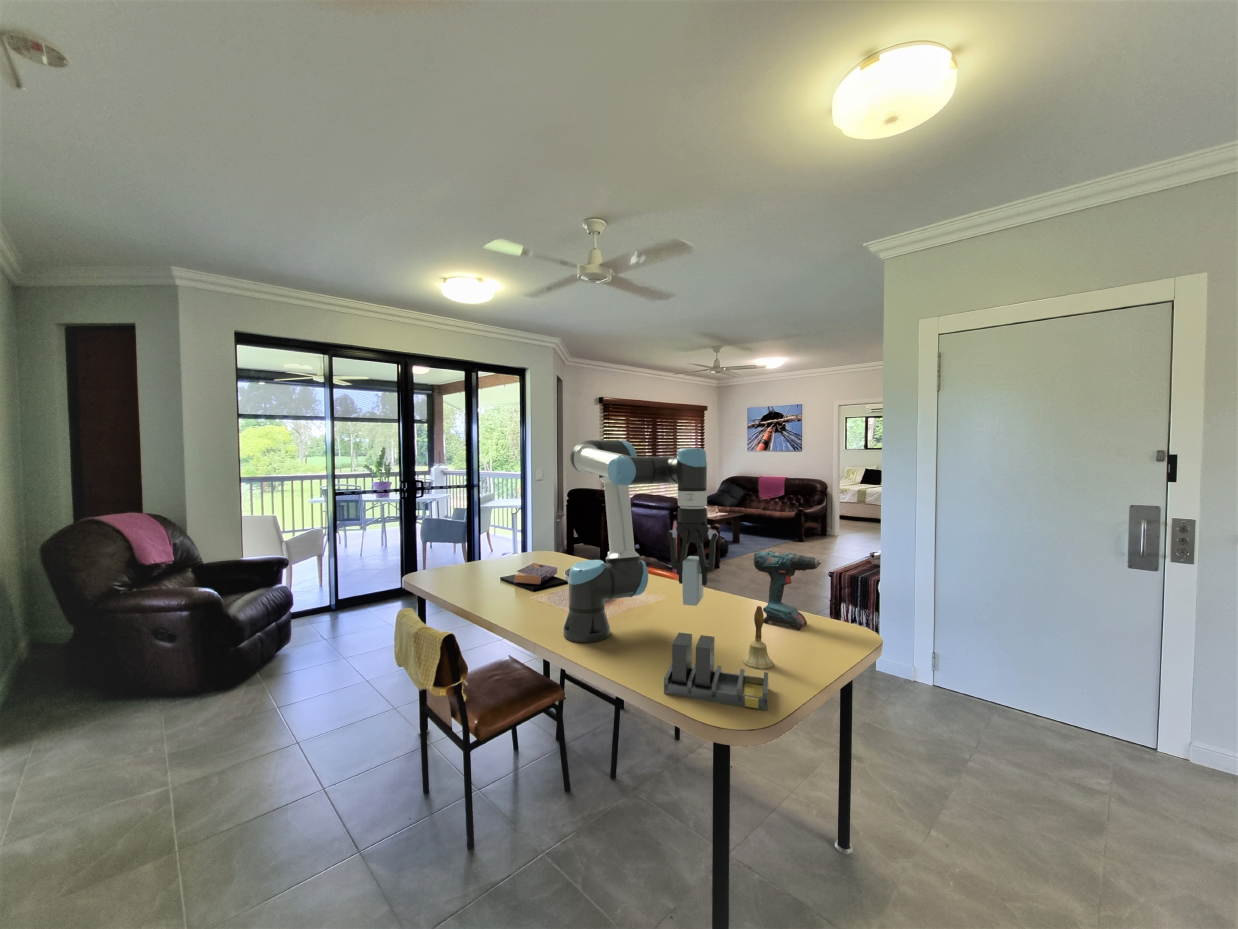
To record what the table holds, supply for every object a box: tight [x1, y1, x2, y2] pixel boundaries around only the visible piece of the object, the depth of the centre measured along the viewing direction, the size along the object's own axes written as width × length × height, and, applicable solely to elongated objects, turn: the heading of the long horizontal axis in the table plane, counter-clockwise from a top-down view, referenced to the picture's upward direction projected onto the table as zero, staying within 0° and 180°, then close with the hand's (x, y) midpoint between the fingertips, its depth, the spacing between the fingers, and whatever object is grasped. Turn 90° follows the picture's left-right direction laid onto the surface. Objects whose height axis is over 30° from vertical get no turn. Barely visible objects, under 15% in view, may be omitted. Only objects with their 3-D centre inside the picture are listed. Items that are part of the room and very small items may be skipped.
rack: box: [663, 631, 769, 711], centre depth 119 cm, size 24×12×12 cm, turn 71°
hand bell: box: [742, 605, 774, 670], centre depth 136 cm, size 8×8×16 cm
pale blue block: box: [682, 555, 702, 607], centre depth 125 cm, size 4×8×11 cm, turn 160°
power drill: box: [753, 550, 822, 631], centre depth 167 cm, size 9×23×25 cm, turn 53°
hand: (693, 596), depth 125 cm, fingers closed on pale blue block, 3 cm apart
